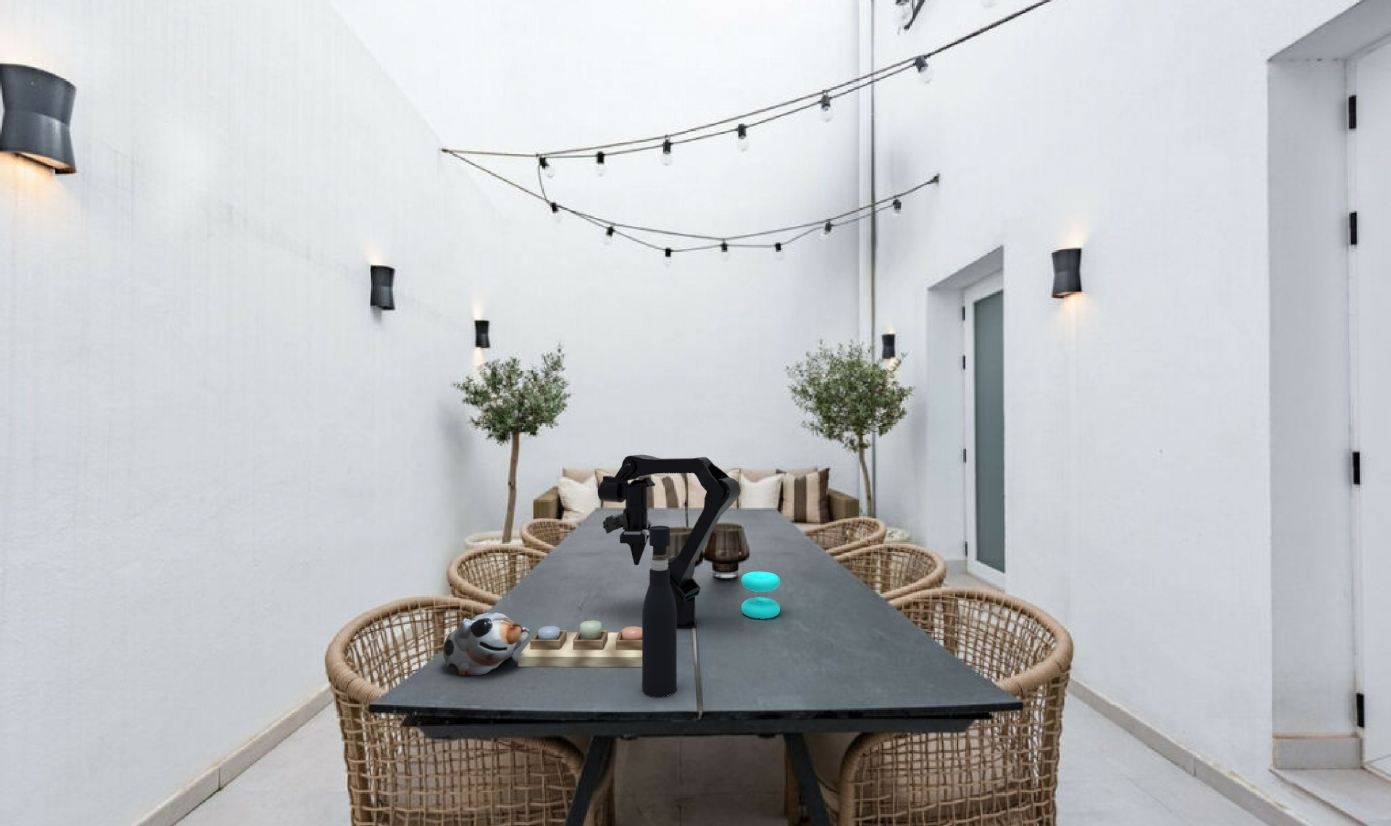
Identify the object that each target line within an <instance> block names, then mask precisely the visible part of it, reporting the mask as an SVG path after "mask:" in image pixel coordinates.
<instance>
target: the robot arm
mask: <svg viewBox="0 0 1391 826" xmlns="http://www.w3.org/2000/svg"><path fill="white" fill-rule="evenodd" d="M656 474H694V476H695V477H696V479H697V480H698V481H699V485H700V486H701V487H702V489H704V490H705V495H704V499H703V509H702V511H701V513H700V514H699V516H698V519H697V520H696V522H695V523H694V526H693V527H692V530H691V531H690V533H689V535H688V537H687V539H686V541H685V542H684V544H683V546H682V548H681V550H680V551H679V553H678V554H677V555H675V556H672V557H670V558H667V559H668V568H669V569H670V586H671V589H672V592H673V595H674V599H675V604H676V610H677V629H678V628H680V629H681V628H685V629H687V628H689V629H690V628H691V629H693V628H694V629H695V628H696V624H697V623H696V621H697V618H696V597H697V596H699V594H700V592H701V587H700V585H699V584H698V582H697V581H696V580H695V579H694V578H693V577H694V575H695V568H696V567H695V566H696V561H697V559H698V558H699V556H700V554H701V552H702V551H703V549H704V547H705V545H706V544H707V542H708V540H709V538H710V536H711V535H712V532H713V531H714V529H715V527H716V526H717V523H718V522H719V520H720V518H721V516H722V515H723V514H724V513H726V511H727V510H728V509H729V508H730V507H731V506H732V505H733V504H734V503H735V501H737V499H738V498H739V497H740V495H741V486H740V484H739V482H738V481H737V480H736V479H735V478H732V477H730V476H729V475H728V474H727V473H726V472H725V471H724V470H722V469H721V468H719V467H718V466H717V465H716V464H714V463H713V462H712V460H710V459H709V458H708V457H707V456H706V457H705V456H701V457H700V456H699V457H687V458H686V457H685V458H684V457H683V458H682V457H681V458H675V457H674V458H660V457H656V456H652V455H646V454H631V455H627V456H625V457H624V459H623V460H622V463H621V467H620V468H619V469H618V471H617V473H616V474H615V476H612V475H603V476H602V481H601V482H600V483H599V486H598V489H597V496H598V499H599V500H600V501H601V502H607V503H608V502H609V503H620V504H622V503H624V506H625V507H624V509H623V510H622V513H618V514H617V515H613V514H611V515H610V516H607V517H605V519H604V520H603V521H602V528H603V529H604V530H605V533H606V534H607V535H608V534H610V533H612V532H614V531H616V530H620V529H621V528H622V530H623V531H622V532H621V533H620V534H619V544H627V545H628V546H629V548H630V552H631V556H632V560H633V564H634V566H639V565H640V561H641V559H642V556H643V554H644V551H645V548H646V545H647V543H648V542H649V534H647V532H646V531H648V533H649V528H650V527H652V521H650V520H649V518H648V516H649V515H648V512H649V509H650V508H649V505H648V503H649V500H648V499H649V497H648V496H649V491H648V490H649V488H651V487H655V486H656V483H655V482H654V481H653V480H652V479H651V478H650V476H652V475H656ZM648 476H649V477H648ZM642 477H644V478H643V479H640V478H642ZM629 481H631V482H629Z"/></svg>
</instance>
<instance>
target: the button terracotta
mask: <svg viewBox="0 0 1391 826" xmlns="http://www.w3.org/2000/svg"><path fill="white" fill-rule="evenodd" d="M621 630H622V640H642V626H633V625H632V626H631V625H630V626H626V627H624V628H622V629H621Z"/></svg>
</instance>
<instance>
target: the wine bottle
mask: <svg viewBox="0 0 1391 826" xmlns="http://www.w3.org/2000/svg"><path fill="white" fill-rule="evenodd" d="M648 535H649V538H648V542H649V546H650V547H652V558H651V560H650V563H651V564H650V567H651V568H650V569H649V580H648V581H649V584H648V587H647V591H646V594H645V598H644V600H643V606H642V612H641V622H642V623H641V628H642V667H641V685H642V686H641V690H642V691H641V692H644V693H643V694H645V695H647V696H649V695H650V696H649V697H653V696H655V697H654V698H663V697H662V696H664V697H668V696H667V695H669V696H671V695H673V694H675V693H676V692H677V690H678V689H677V687H678V686H677V684H678V683H677V680H678V679H677V678H678V675H677V674H678V671H677V666H678V664H677V662H678V661H677V656H678V655H677V654H678V653H677V652H678V651H677V649H678V648H677V645H678V644H677V643H678V642H677V641H678V640H677V635H678V634H677V633H678V631H677V629H678V628H677V610H676V604H675V599H674V595H673V592H672V589H671V586H670V569H669V568H668V559H669V558H667V556H668V555H667V547H668V546H671V545H670V544H671V528H670V526H667V525H654V526H652V525H651V527H650V528H649V532H648ZM674 692H675V693H674ZM672 693H673V694H672ZM670 694H671V695H670Z"/></svg>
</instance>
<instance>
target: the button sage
mask: <svg viewBox="0 0 1391 826" xmlns="http://www.w3.org/2000/svg"><path fill="white" fill-rule="evenodd" d="M579 628H580V629H579V630H580V637H581V638H583V639H596V638H599V637H600V636H601V630H602V622H601V621H599V620H593V619H592V620H585V621H583V622H581V623H580V627H579Z"/></svg>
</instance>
